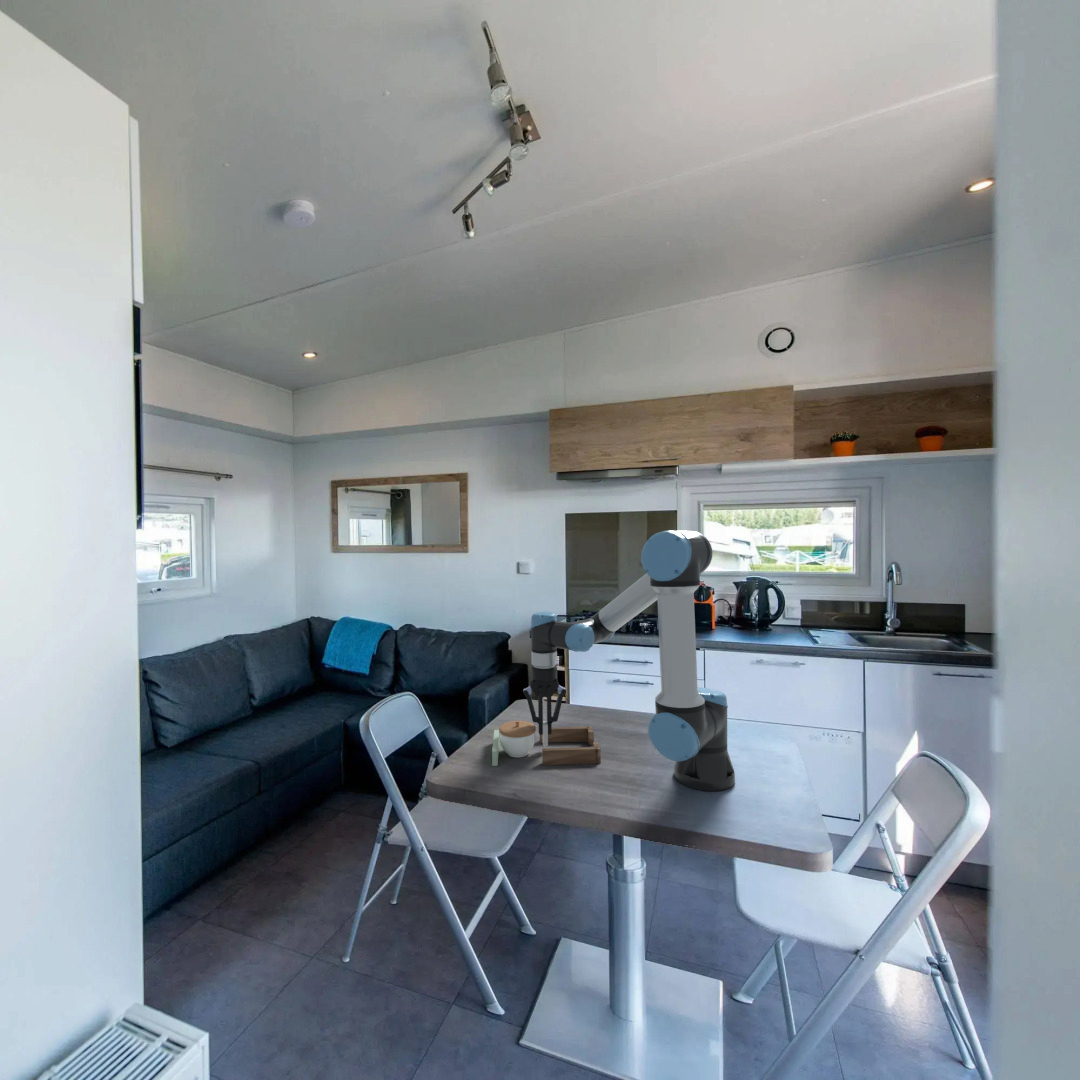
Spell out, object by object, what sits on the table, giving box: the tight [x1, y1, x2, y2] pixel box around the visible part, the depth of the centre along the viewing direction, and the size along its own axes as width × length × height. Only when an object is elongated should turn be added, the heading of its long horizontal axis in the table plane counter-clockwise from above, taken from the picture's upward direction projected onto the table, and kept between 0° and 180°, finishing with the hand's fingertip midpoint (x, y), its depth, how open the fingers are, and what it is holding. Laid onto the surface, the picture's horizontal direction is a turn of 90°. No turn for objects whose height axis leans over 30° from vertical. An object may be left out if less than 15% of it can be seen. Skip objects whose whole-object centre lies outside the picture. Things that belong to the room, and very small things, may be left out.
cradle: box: [539, 725, 602, 766], centre depth 153 cm, size 17×16×4 cm
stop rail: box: [491, 729, 500, 767], centre depth 152 cm, size 16×2×4 cm, turn 3°
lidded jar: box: [498, 720, 537, 759], centre depth 152 cm, size 11×11×9 cm
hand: (545, 744), depth 153 cm, fingers closed
